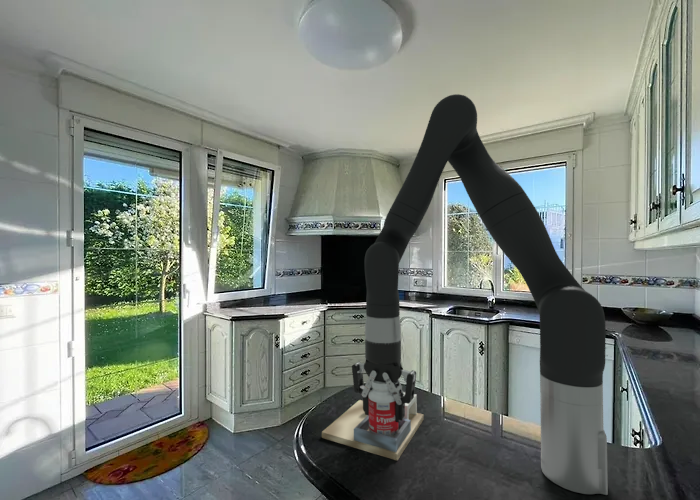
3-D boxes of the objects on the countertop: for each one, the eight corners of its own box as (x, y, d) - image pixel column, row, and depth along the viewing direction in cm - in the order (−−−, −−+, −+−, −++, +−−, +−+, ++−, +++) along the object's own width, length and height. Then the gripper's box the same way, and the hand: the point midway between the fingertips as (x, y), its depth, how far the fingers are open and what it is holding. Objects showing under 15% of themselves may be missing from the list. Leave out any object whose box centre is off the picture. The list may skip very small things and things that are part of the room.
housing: (416, 413, 79) (416, 394, 79) (407, 427, 73) (407, 406, 73) (389, 407, 82) (389, 389, 82) (378, 419, 76) (378, 399, 76)
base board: (423, 419, 79) (423, 403, 79) (397, 460, 63) (397, 440, 63) (359, 404, 87) (359, 390, 87) (321, 437, 71) (321, 420, 71)
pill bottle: (375, 444, 66) (374, 387, 66) (365, 429, 71) (363, 377, 72) (404, 438, 67) (402, 383, 68) (391, 424, 73) (390, 373, 74)
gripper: (421, 337, 70) (422, 417, 70) (360, 330, 77) (360, 403, 76) (410, 345, 63) (411, 434, 63) (344, 337, 70) (344, 417, 70)
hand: (383, 416), depth 70 cm, fingers closed on pill bottle, 6 cm apart
